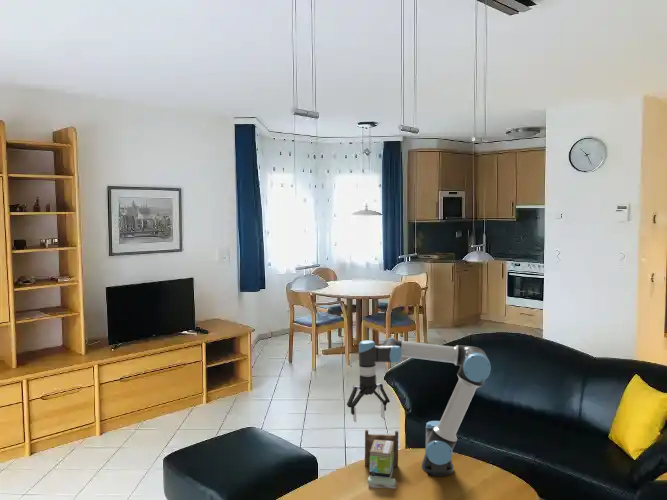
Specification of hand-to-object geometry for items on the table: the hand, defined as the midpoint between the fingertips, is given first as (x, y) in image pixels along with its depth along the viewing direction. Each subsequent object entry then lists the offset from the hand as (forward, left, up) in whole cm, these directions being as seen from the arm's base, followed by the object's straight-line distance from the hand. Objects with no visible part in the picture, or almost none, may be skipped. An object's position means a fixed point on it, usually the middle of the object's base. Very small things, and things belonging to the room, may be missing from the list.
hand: (368, 419), depth 257 cm
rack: (-6, -11, -28) cm, 30 cm away
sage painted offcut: (-6, +9, -25) cm, 28 cm away
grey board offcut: (-7, +9, -27) cm, 29 cm away
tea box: (-6, -1, -28) cm, 29 cm away
